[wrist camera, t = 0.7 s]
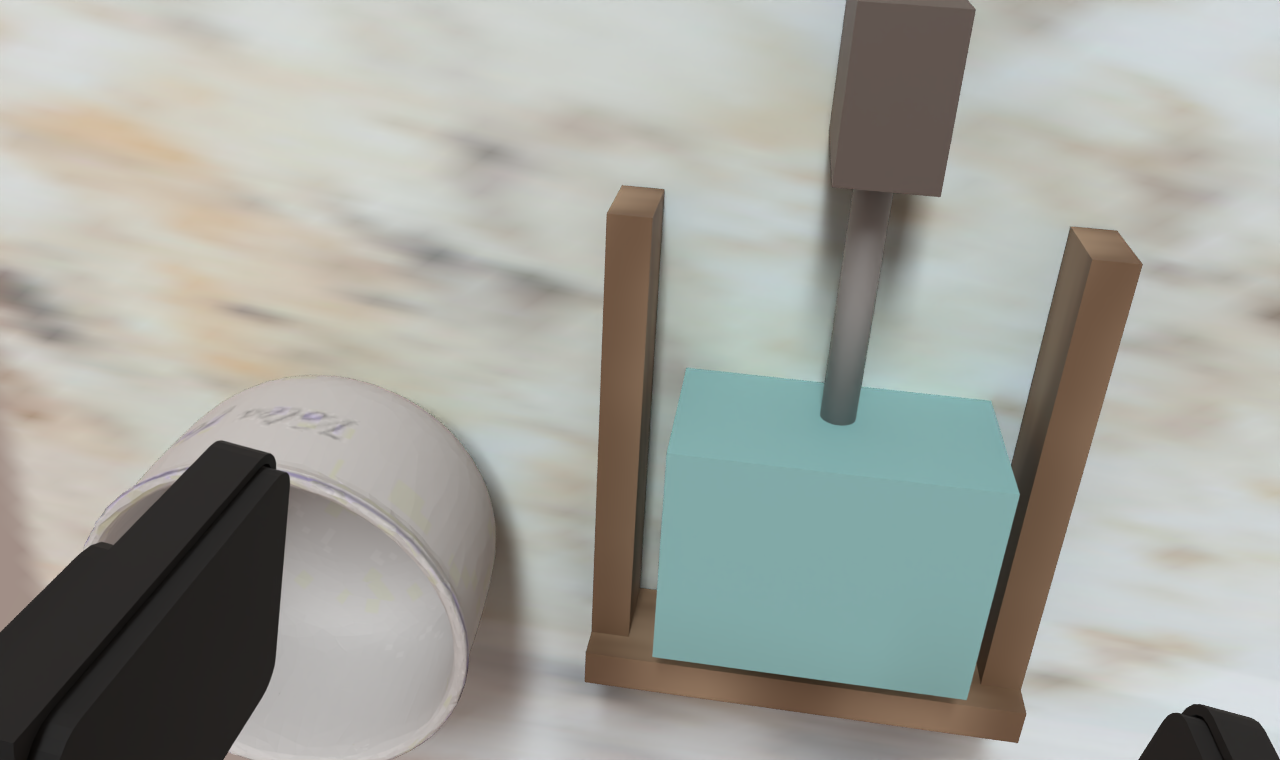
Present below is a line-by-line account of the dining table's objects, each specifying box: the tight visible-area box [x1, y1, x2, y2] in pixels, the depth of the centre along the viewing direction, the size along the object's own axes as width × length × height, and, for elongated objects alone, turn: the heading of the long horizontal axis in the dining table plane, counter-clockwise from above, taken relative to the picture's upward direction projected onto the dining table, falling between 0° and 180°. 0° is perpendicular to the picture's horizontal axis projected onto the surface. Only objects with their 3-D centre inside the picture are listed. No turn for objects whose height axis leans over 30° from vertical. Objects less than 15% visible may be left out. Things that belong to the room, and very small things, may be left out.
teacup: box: [83, 375, 496, 760], centre depth 33 cm, size 14×11×8 cm
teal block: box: [652, 0, 1020, 700], centre depth 29 cm, size 9×18×5 cm, turn 177°
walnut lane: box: [585, 185, 1143, 743], centre depth 31 cm, size 13×15×4 cm
